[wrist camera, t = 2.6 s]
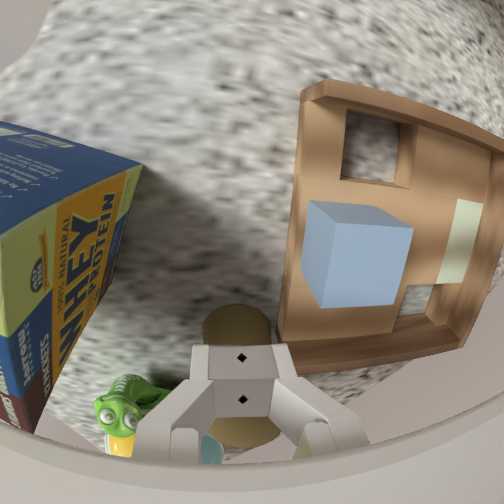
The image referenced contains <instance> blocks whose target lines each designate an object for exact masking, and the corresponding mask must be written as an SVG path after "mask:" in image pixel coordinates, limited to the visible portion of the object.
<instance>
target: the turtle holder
mask: <svg viewBox="0 0 504 504" xmlns="http://www.w3.org/2000/svg"><path fill="white" fill-rule="evenodd" d="M171 392H172V390H167V389H162V388H158V387H155V386H153V385H151V384H150V383H149V382H147V381H146V380H145V379H143V378H142V377H140V376H137V375H132V374H126V375H123V376H121V377H119V378H118V379H117V380H116V381H115V382H114V384H113V385H112V387H111V389H110V391H109V392H108V394H107V395H103V396H101V397H99V398H97V399H96V400H95V403H94V407H95V411H96V413H97V420H98V422H99V424H100V425H101V428H102V429H103V431H104V432H106V434H105V448H106V454H111V455H117V456H123V457H129V458H131V456H132V450H133V445H134V439H135V434H136V429H137V424H138V422H139V421H140V420H141V419H143V418H144V417H145V416H146V415H147V414H148V413H149V412H150V411H151V410H152V409H154V408H155V407H156V406H157V405H158V404H159V403H160V402H161V401H162V400H163V399H164V398H166V397H167V396H168V395H169V394H170V393H171ZM200 449H201V456H202V463H203V464H221V463H222V460H223V455H224V448H223V444H221V443H219V442H218V441H217V440H215V439H214V438H213V436H212V435H211V434H210V432H209V430H207V432H206V433H205V434H204V436H203V437H202V439H201V440H200Z"/></svg>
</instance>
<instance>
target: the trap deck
mask: <svg viewBox="0 0 504 504" xmlns="http://www.w3.org/2000/svg"><path fill="white" fill-rule="evenodd" d="M346 111H347V112H352V113H357V114H361V115H366V116H370V117H375V118H379V119H383V120H387V121H391V122H395V123H399V124H401V126H400V137H399V146H398V155H397V163H396V171H395V178H394V183H388V182H381V181H374V180H367V179H359V178H351V177H343V176H340V173H341V164H342V155H343V145H344V135H345V123H346ZM309 200H314V201H328V202H340V203H352V204H363V205H373V206H376V207H378V208H380V209H382V210H383V211H385V212H387V213H389V214H390V215H392V216H394V217H396V218H397V219H399V220H401V221H402V222H404V223H406V224H407V225H409V226H411V227H412V228H414V230H413V235H412V239H411V243H410V247H409V251H408V255H407V259H406V263H405V267H404V270H403V274H402V278H401V281H400V284H399V288H398V291H397V294H396V298H395V301H394V304H393V305H378V306H362V307H343V308H320V306H319V304H318V302H317V301H316V299H315V297H314V295H313V293H312V291H311V289H310V288H309V286H308V284H307V282H306V280H305V278H304V277H303V275H302V273H301V271H300V264H301V257H302V249H303V242H304V234H305V227H306V219H307V210H308V202H309ZM503 244H504V139H502V138H500V137H498V136H496V135H494V134H492V133H490V132H488V131H486V130H484V129H482V128H480V127H478V126H476V125H473V124H471V123H469V122H467V121H465V120H462V119H460V118H458V117H455V116H453V115H450V114H448V113H445V112H443V111H440V110H438V109H435V108H433V107H430V106H427V105H424V104H421V103H419V102H416V101H413V100H410V99H407V98H403V97H400V96H397V95H394V94H390V93H387V92H383V91H380V90H376V89H372V88H369V87H365V86H361V85H356V84H352V83H348V82H343V81H338V80H334V79H328V78H327V79H325V80H323V81H320V82H318V83H316V84H314V85H312V86H310V87H308V88H306V89H304V90H302V91H301V97H300V111H299V125H298V137H297V149H296V160H295V171H294V182H293V192H292V202H291V212H290V221H289V231H288V240H287V248H286V257H285V265H284V274H283V282H282V290H281V297H280V305H279V313H278V320H277V327H276V335H277V339H278V342H279V344H283V343H286V344H287V345H288V348H289V351H290V354H291V357H292V360H293V363H294V367H295V370H296V373H297V375H304V374H315V373H325V372H334V371H343V370H351V369H358V368H365V367H372V366H378V365H384V364H390V363H395V362H401V361H406V360H411V359H416V358H420V357H425V356H429V355H434V354H438V353H442V352H446V351H450V350H454V349H458V348H462V347H463V346H464V344H465V342H466V340H467V338H468V336H469V334H470V332H471V330H472V328H473V326H474V323H475V321H476V319H477V317H478V314H479V312H480V309H481V307H482V305H483V302H484V300H485V297H486V295H487V292H488V290H489V287H490V284H491V281H492V279H493V276H494V273H495V270H496V267H497V264H498V261H499V257H500V254H501V251H502V247H503ZM427 284H434V287H433V290H432V293H431V296H430V299H429V302H428V305H427V307H426V310H425V313H422V314H414V315H404V316H398V313H399V310H400V307H401V304H402V301H403V298H404V295H405V292H406V288H407V285H427Z"/></svg>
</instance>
